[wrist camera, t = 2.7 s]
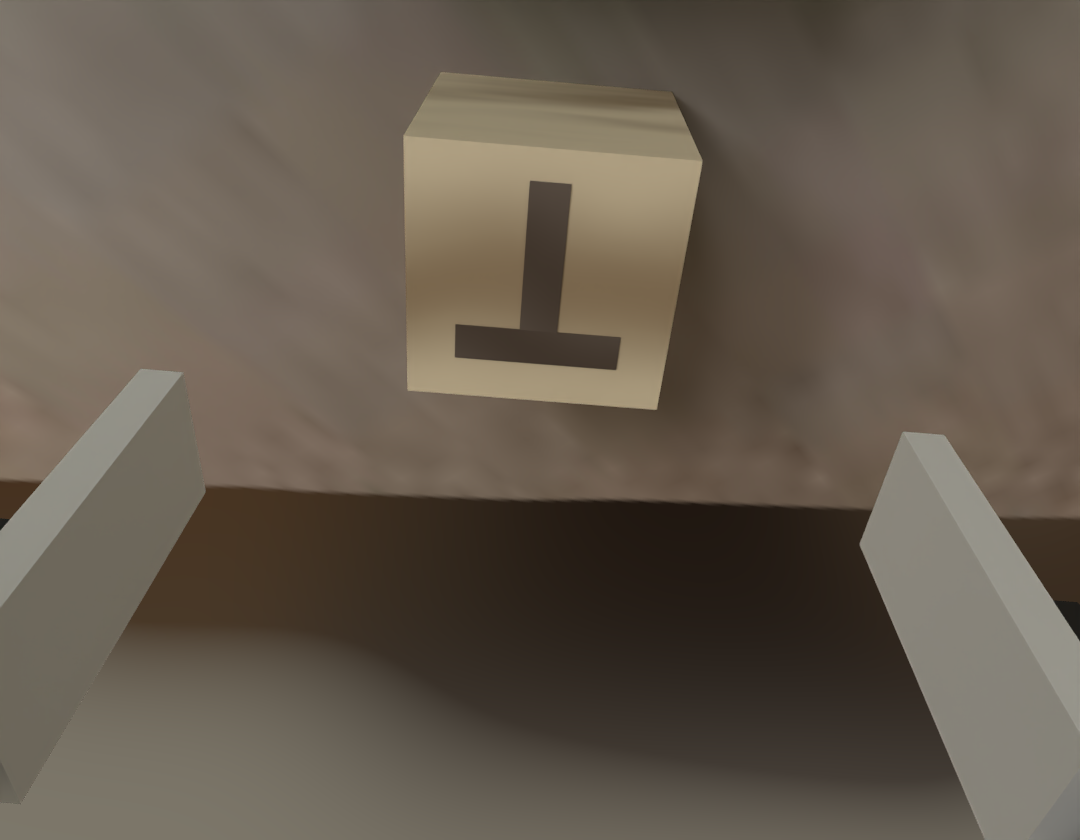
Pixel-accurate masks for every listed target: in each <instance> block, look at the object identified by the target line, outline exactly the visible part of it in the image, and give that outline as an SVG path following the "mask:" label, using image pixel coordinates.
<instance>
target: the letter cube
mask: <svg viewBox="0 0 1080 840" xmlns="http://www.w3.org/2000/svg"><path fill="white" fill-rule="evenodd" d="M403 139H404V201H405V262H406V323H407V384H408V391H421V392H434V393H447V394H459V395H472V396H485V397H498V398H511V399H523V400H536V401H549V402H562V403H574V404H587V405H600V406H613V407H626V408H638V409H651V410H657V405H658V400H659V394H660V389H661V384H662V378H663V373H664V367H665V362H666V357H667V351H668V346H669V340H670V335H671V330H672V324H673V319H674V314H675V308H676V303H677V297H678V292H679V287H680V281H681V276H682V270H683V265H684V260H685V254H686V249H687V243H688V238H689V233H690V227H691V222H692V216H693V211H694V206H695V200H696V195H697V189H698V184H699V179H700V173H701V168H702V162H703V161H702V158H701V156H700V154H699V152H698V149H697V147H696V145H695V143H694V140H693V138H692V136H691V134H690V131H689V129H688V127H687V125H686V122H685V120H684V118H683V116H682V114H681V111H680V109H679V107H678V105H677V102H676V100H675V98H674V96H673V93H672V92H667V91H655V90H644V89H632V88H620V87H609V86H597V85H586V84H574V83H562V82H551V81H539V80H528V79H516V78H504V77H493V76H481V75H470V74H458V73H446V72H441V73H440V74H439V76H438V78H437V79H436V81H435V83H434V85H433V86H432V88H431V90H430V91H429V93H428V95H427V97H426V98H425V100H424V102H423V103H422V105H421V107H420V108H419V110H418V112H417V114H416V115H415V117H414V119H413V120H412V122H411V124H410V126H409V127H408V129H407V131H406V132H405V134H404V136H403Z"/></svg>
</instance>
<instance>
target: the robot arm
mask: <svg viewBox="0 0 1080 840" xmlns="http://www.w3.org/2000/svg"><path fill="white" fill-rule="evenodd" d="M205 492H206V491H205V486H204V481H203V475H202V470H201V464H200V459H199V454H198V448H197V443H196V438H195V432H194V427H193V422H192V416H191V411H190V405H189V400H188V395H187V389H186V384H185V379H184V373H183V372H173V371H160V370H148V369H140V370H139V372H138V373H137V374H136V375H135V376H134V377H133V378H132V380H131V381H130V382H129V383H128V384H127V385H126V387H125V388H124V389H123V390H122V391H121V392H120V393H119V395H118V396H117V397H116V398H115V399H114V400H113V401H112V403H111V404H110V405H109V406H108V407H107V408H106V410H105V411H104V412H103V413H102V414H101V415H100V416H99V418H98V419H97V420H96V421H95V422H94V423H93V425H92V426H91V427H90V428H89V429H88V430H87V431H86V433H85V434H84V435H83V436H82V437H81V438H80V439H79V441H78V442H77V443H76V444H75V445H74V446H73V448H72V449H71V450H70V451H69V452H68V453H67V454H66V456H65V457H64V458H63V459H62V460H61V461H60V463H59V464H58V465H57V466H56V467H55V468H54V469H53V471H52V472H51V473H50V474H49V475H48V476H47V477H46V479H45V480H44V481H43V482H42V483H41V484H40V486H39V487H38V488H37V489H36V490H35V491H34V492H33V494H32V495H31V496H30V497H29V498H28V499H27V501H26V502H25V503H24V504H23V505H22V507H20V509H19V510H18V511H17V512H16V513H15V514H14V515H13V517H12V518H11V519H0V802H1V803H14V804H21V802H22V801H23V799H24V798H25V796H26V794H27V793H28V791H29V789H30V788H31V786H32V784H33V782H34V781H35V779H36V777H37V776H38V774H39V772H40V771H41V769H42V767H43V765H44V764H45V762H46V761H47V759H48V757H49V755H50V754H51V752H52V750H53V749H54V747H55V745H56V743H57V742H58V740H59V739H60V737H61V735H62V733H63V732H64V730H65V728H66V727H67V725H68V723H69V722H70V720H71V718H72V717H73V715H74V713H75V711H76V710H77V708H78V706H79V705H80V703H81V701H82V700H83V698H84V696H85V695H86V693H87V691H88V690H89V688H90V686H91V685H92V683H93V681H94V679H95V678H96V676H97V674H98V673H99V671H100V669H101V668H102V666H103V664H104V663H105V661H106V659H107V657H108V656H109V654H110V652H111V651H112V649H113V647H114V646H115V644H116V642H117V640H118V639H119V637H120V635H121V634H122V632H123V630H124V629H125V627H126V625H127V624H128V622H129V620H130V619H131V617H132V615H133V614H134V612H135V610H136V609H137V607H138V605H139V603H140V602H141V600H142V598H143V597H144V595H145V593H146V592H147V590H148V588H149V587H150V585H151V583H152V581H153V580H154V578H155V576H156V575H157V573H158V571H159V570H160V568H161V566H162V565H163V563H164V561H165V559H166V558H167V556H168V555H169V553H170V551H171V549H172V548H173V546H174V544H175V543H176V541H177V539H178V538H179V536H180V534H181V533H182V531H183V529H184V527H185V526H186V524H187V522H188V521H189V519H190V517H191V516H192V514H193V512H194V511H195V509H196V507H197V506H198V504H199V502H200V500H201V499H202V497H203V495H204V494H205ZM860 547H861V549H862V551H863V554H864V556H865V558H866V561H867V563H868V566H869V568H870V570H871V573H872V575H873V577H874V580H875V582H876V585H877V587H878V589H879V592H880V594H881V596H882V599H883V601H884V603H885V606H886V608H887V610H888V613H889V615H890V618H891V620H892V622H893V625H894V627H895V629H896V632H897V634H898V636H899V639H900V641H901V643H902V646H903V648H904V651H905V653H906V655H907V658H908V660H909V662H910V665H911V667H912V669H913V672H914V674H915V676H916V679H917V681H918V684H919V686H920V688H921V691H922V693H923V695H924V698H925V700H926V702H927V705H928V706H929V709H930V712H931V714H932V717H933V719H934V721H935V724H936V726H937V728H938V730H939V733H940V735H941V738H942V740H943V743H944V745H945V747H946V750H947V751H948V754H949V756H950V759H951V761H952V764H953V766H954V768H955V771H956V773H957V776H958V778H959V780H960V783H961V785H962V787H963V790H964V792H965V794H966V797H967V799H968V801H969V804H970V806H971V809H972V811H973V813H974V816H975V818H976V820H977V823H978V825H979V827H980V830H981V832H982V834H983V837H984V839H985V840H1080V605H1079V604H1078V603H1077V602H1066V601H1054V600H1052V598H1051V597H1050V595H1049V594H1048V592H1047V591H1046V589H1045V588H1044V586H1043V585H1042V583H1041V582H1040V580H1039V579H1038V577H1037V575H1036V574H1035V572H1034V571H1033V569H1032V568H1031V567H1030V565H1029V563H1028V562H1027V560H1026V559H1025V557H1024V556H1023V554H1022V553H1021V551H1020V550H1019V548H1018V547H1017V545H1016V544H1015V542H1014V540H1013V539H1012V537H1011V536H1010V534H1009V533H1008V531H1007V530H1006V529H1005V527H1004V525H1003V524H1002V522H1001V521H1000V519H999V518H998V516H997V515H996V513H995V511H994V510H993V508H992V507H991V505H990V504H989V502H988V501H987V499H986V498H985V496H984V495H983V493H982V492H981V490H980V489H979V487H978V486H977V484H976V483H975V481H974V480H973V478H972V476H971V475H970V473H969V472H968V470H967V469H966V467H965V466H964V464H963V463H962V461H961V460H960V458H959V457H958V455H957V454H956V452H955V451H954V449H953V448H952V446H951V444H950V443H949V441H948V440H947V438H946V437H945V435H938V434H926V433H913V432H903V433H902V435H901V438H900V440H899V443H898V446H897V448H896V451H895V453H894V456H893V459H892V461H891V464H890V466H889V469H888V472H887V474H886V477H885V479H884V482H883V485H882V487H881V490H880V492H879V495H878V498H877V500H876V503H875V505H874V508H873V511H872V513H871V516H870V518H869V521H868V524H867V526H866V529H865V531H864V534H863V537H862V539H861V542H860Z"/></svg>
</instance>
